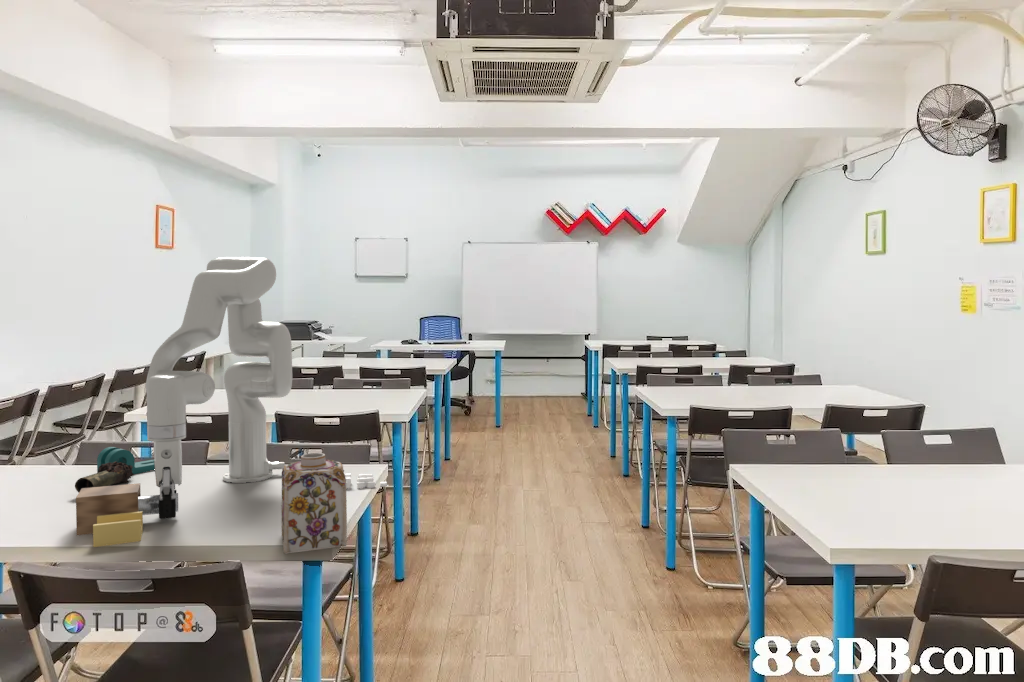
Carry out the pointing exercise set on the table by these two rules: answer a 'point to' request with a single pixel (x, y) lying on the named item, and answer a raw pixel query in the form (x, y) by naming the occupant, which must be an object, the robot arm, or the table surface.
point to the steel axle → (152, 504)
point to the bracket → (123, 459)
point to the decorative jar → (313, 504)
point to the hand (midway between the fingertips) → (168, 512)
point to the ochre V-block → (118, 529)
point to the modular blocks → (363, 481)
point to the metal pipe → (106, 476)
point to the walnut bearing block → (104, 504)
